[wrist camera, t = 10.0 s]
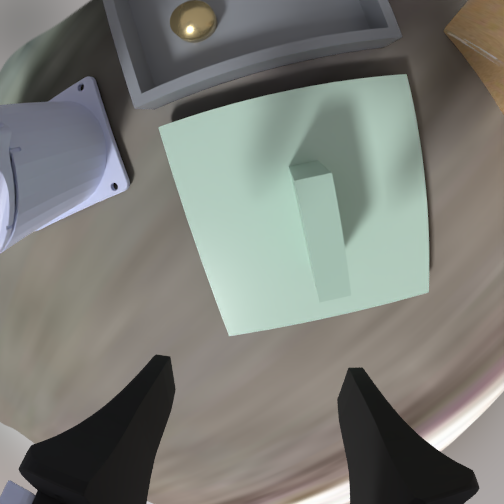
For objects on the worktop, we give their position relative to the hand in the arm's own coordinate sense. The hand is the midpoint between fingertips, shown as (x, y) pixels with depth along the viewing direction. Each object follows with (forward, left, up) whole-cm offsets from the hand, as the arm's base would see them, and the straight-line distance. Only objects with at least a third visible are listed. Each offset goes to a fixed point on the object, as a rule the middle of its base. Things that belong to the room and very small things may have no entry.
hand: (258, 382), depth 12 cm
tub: (+4, +19, -9) cm, 22 cm away
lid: (+4, +3, -9) cm, 10 cm away
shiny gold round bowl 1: (+1, +16, -9) cm, 18 cm away
